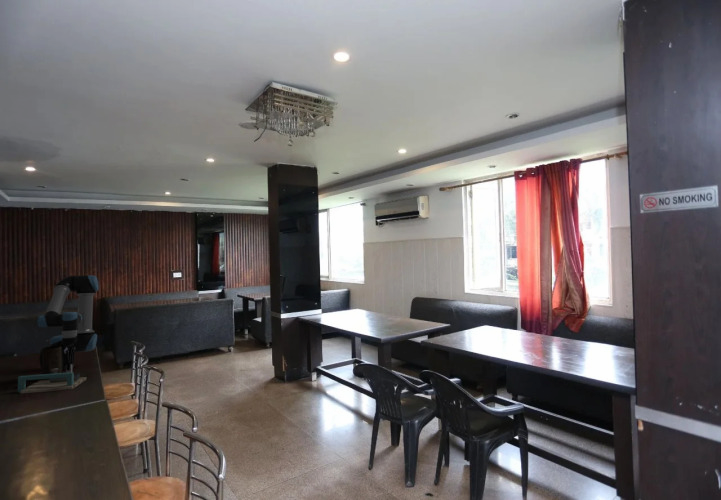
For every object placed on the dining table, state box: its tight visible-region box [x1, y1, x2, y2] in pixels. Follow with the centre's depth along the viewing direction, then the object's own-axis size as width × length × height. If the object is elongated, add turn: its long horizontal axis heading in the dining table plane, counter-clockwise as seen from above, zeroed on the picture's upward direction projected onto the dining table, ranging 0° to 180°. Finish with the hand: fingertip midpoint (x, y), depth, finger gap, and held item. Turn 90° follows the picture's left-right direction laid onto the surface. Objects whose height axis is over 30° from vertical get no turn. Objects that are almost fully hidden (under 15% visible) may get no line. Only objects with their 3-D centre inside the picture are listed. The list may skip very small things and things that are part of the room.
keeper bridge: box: [17, 371, 75, 393], centre depth 228 cm, size 2×26×8 cm, turn 105°
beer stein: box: [38, 346, 63, 381], centre depth 252 cm, size 15×11×20 cm
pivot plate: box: [19, 368, 87, 395], centre depth 234 cm, size 20×25×9 cm
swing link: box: [50, 373, 81, 382], centre depth 238 cm, size 15×4×3 cm, turn 105°
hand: (69, 375), depth 245 cm, fingers closed
